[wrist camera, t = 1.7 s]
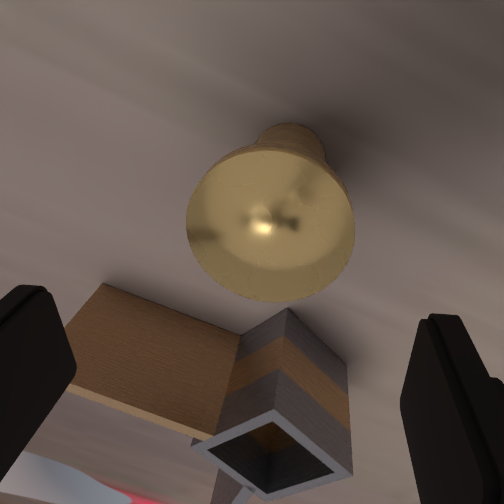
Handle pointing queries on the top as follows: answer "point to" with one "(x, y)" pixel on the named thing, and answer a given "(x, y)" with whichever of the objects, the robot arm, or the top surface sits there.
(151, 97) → the top surface
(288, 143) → the gold rounded cylinder
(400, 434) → the top surface
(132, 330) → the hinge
